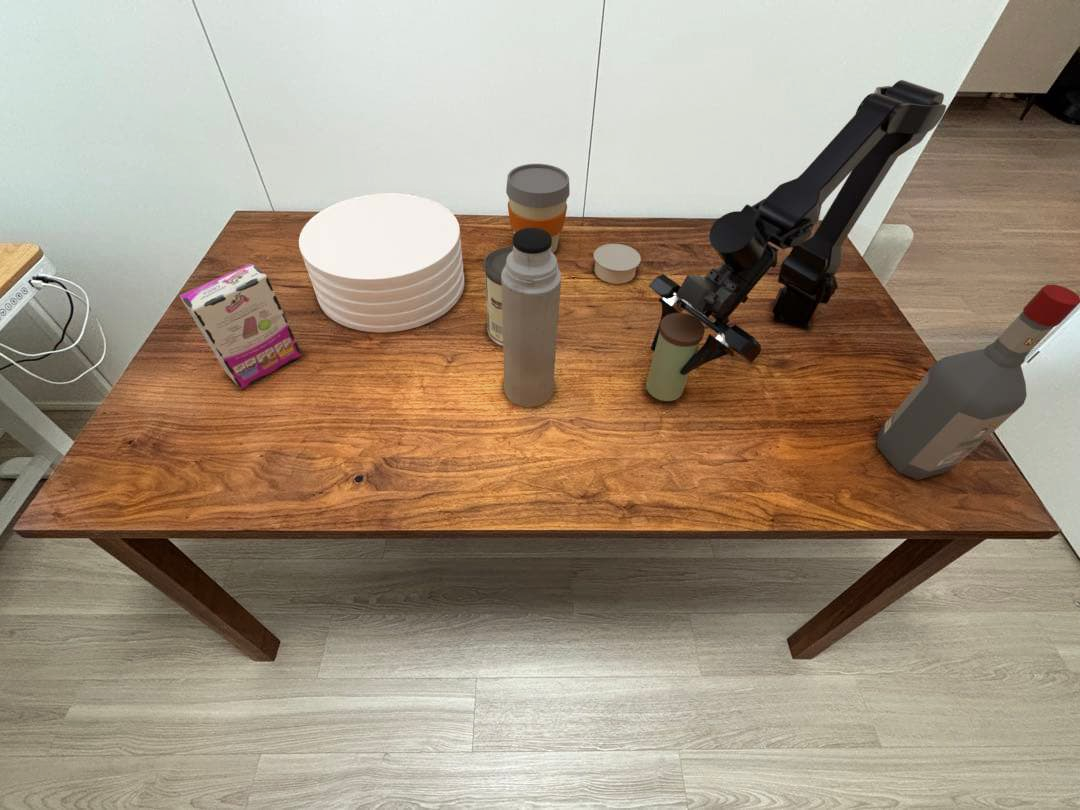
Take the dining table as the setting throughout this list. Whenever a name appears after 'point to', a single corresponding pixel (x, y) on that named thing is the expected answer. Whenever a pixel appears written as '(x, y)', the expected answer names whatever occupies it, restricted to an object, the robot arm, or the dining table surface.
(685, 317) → the cylinder
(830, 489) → the dining table surface
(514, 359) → the thermos bottle
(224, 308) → the candy bar box
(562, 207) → the reusable coffee cup
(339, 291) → the plate stack
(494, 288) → the coffee can
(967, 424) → the liquor
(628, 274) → the coffee pod
